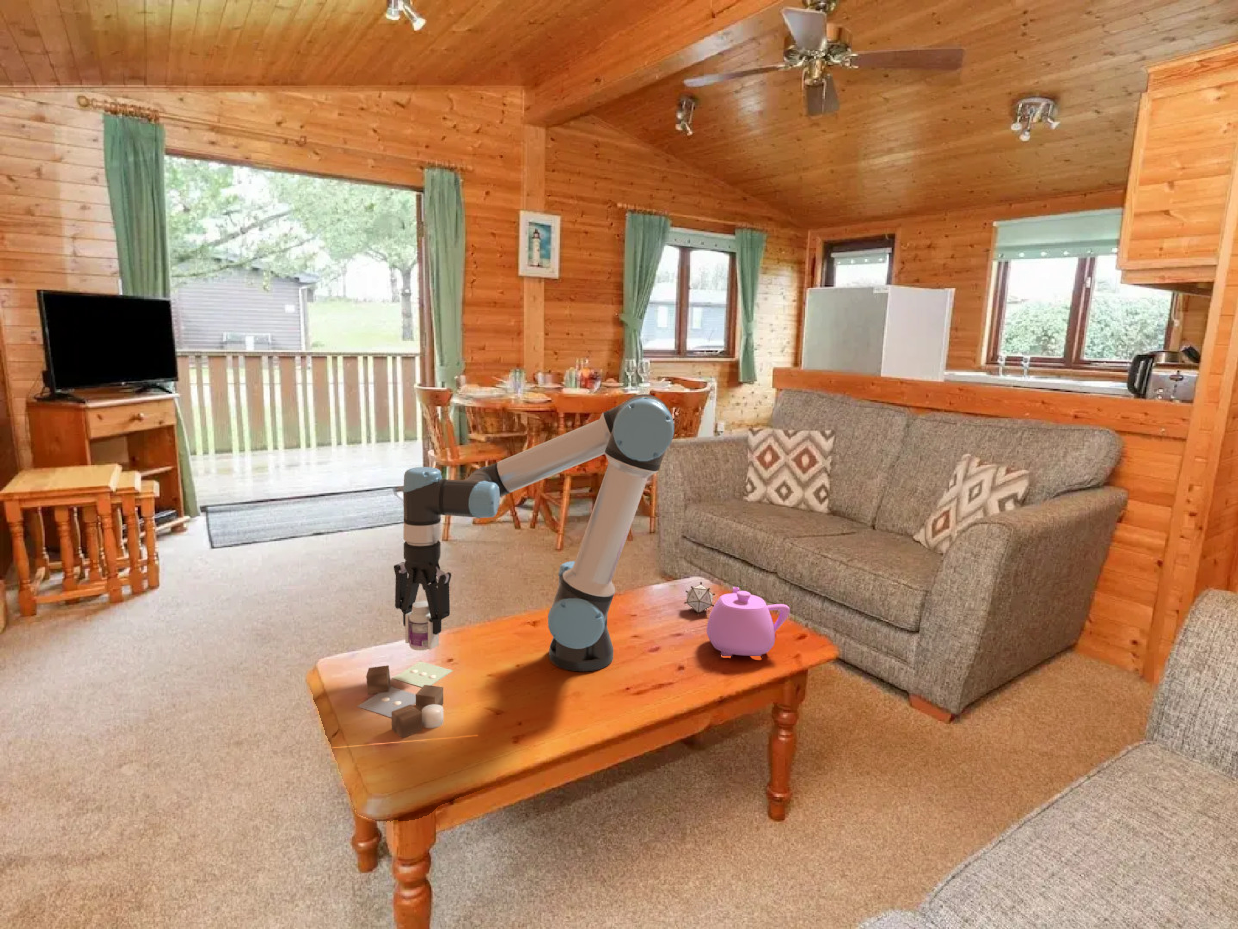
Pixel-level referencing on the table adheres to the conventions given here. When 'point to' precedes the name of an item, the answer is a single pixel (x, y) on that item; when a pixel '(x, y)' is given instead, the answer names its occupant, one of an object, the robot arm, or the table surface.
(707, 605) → the game die
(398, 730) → the cube
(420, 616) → the pill bottle
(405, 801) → the table surface
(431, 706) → the white cap
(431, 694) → the cube
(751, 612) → the teapot
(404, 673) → the pad three
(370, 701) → the pad two
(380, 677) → the cube
